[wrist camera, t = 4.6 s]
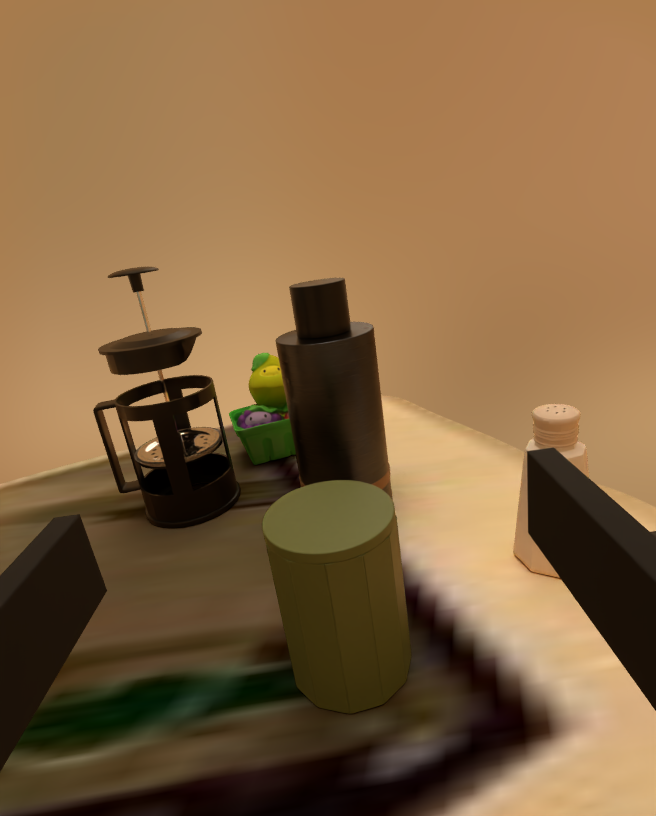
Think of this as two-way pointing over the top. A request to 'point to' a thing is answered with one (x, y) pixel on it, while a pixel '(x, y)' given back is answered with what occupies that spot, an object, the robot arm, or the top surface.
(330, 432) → the flask
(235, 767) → the top surface
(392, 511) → the olive tea canister
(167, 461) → the french press
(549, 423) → the salt shaker
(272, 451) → the fruit basket
